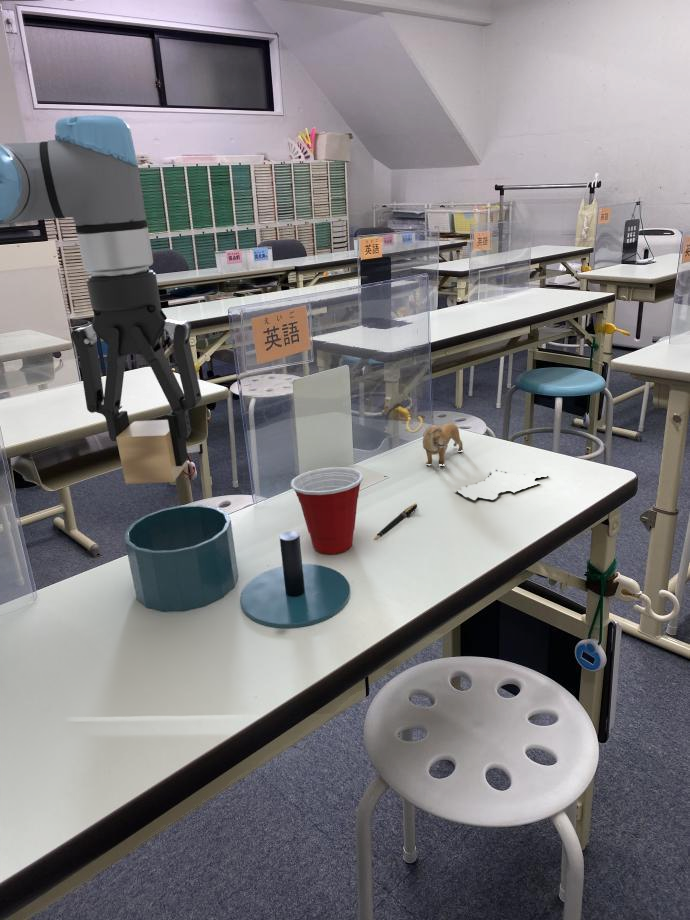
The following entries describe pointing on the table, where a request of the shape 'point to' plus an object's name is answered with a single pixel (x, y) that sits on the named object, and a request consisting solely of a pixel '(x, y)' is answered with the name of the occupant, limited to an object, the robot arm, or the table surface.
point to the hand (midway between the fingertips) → (155, 462)
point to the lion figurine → (440, 440)
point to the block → (148, 453)
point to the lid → (294, 590)
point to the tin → (182, 557)
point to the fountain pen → (397, 520)
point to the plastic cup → (329, 506)
